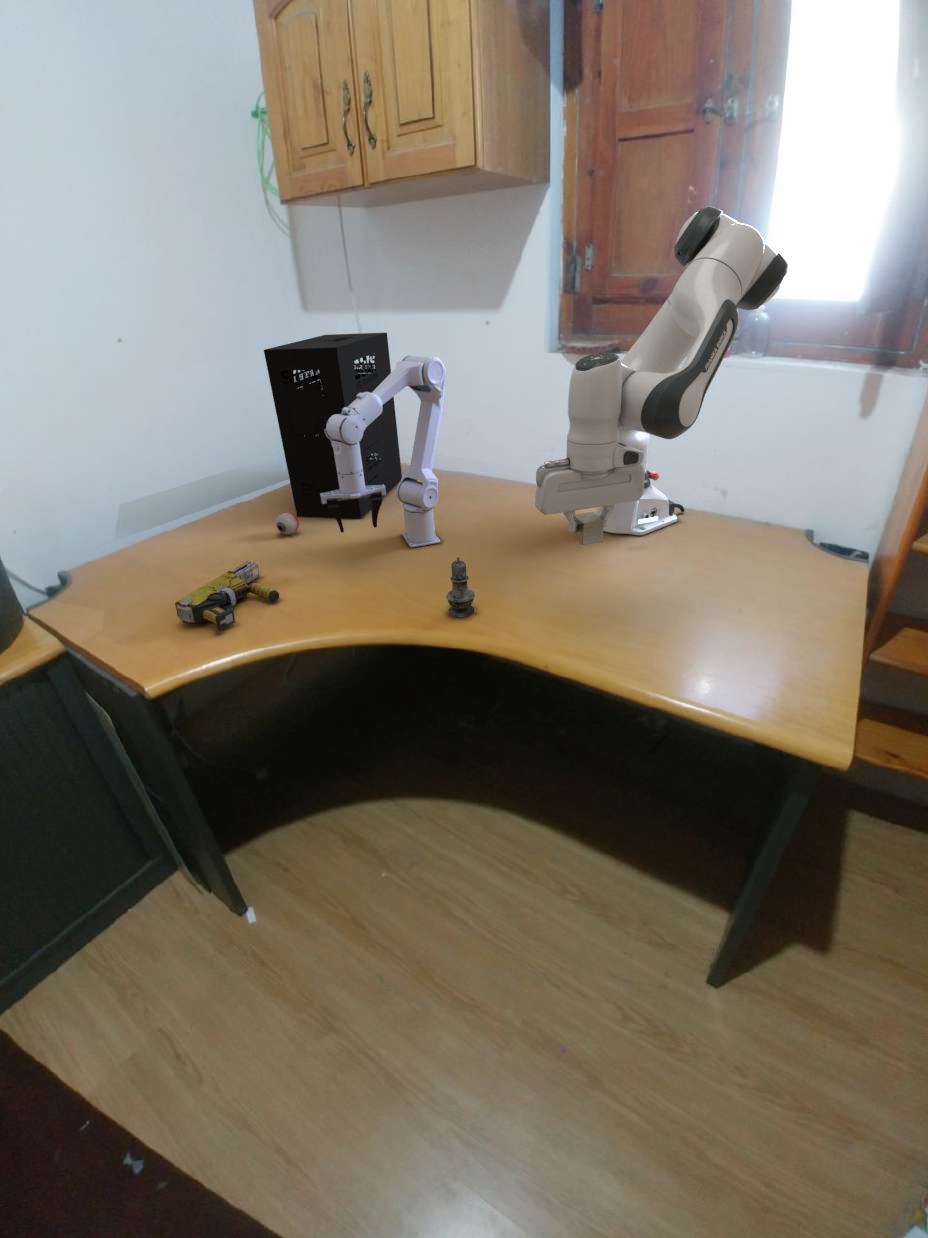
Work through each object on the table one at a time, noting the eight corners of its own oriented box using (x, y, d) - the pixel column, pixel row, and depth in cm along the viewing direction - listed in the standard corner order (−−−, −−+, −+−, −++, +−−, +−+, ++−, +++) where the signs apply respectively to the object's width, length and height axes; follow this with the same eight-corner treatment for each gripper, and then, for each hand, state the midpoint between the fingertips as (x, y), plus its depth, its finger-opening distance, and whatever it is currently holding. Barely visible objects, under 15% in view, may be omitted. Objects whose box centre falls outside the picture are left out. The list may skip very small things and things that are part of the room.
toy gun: (300, 570, 137) (245, 558, 141) (232, 617, 117) (169, 602, 121) (302, 588, 139) (247, 576, 143) (235, 638, 119) (173, 622, 123)
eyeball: (273, 537, 164) (268, 516, 161) (287, 528, 169) (282, 508, 166) (291, 539, 161) (286, 518, 158) (305, 530, 166) (301, 510, 163)
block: (582, 545, 111) (583, 523, 109) (571, 537, 115) (572, 514, 113) (602, 542, 112) (604, 519, 110) (591, 533, 116) (592, 511, 114)
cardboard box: (361, 518, 173) (336, 347, 150) (296, 515, 177) (263, 349, 155) (402, 478, 204) (386, 332, 182) (346, 477, 209) (325, 334, 186)
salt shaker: (472, 618, 120) (470, 563, 114) (444, 617, 121) (439, 562, 115) (478, 604, 125) (475, 551, 119) (450, 603, 126) (446, 550, 120)
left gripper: (318, 480, 129) (328, 539, 136) (385, 471, 132) (392, 529, 139) (316, 471, 135) (326, 528, 142) (380, 463, 138) (386, 519, 145)
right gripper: (543, 467, 101) (542, 543, 108) (652, 452, 105) (644, 526, 112) (529, 458, 106) (529, 531, 113) (634, 444, 111) (627, 515, 117)
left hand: (358, 528), depth 141 cm, fingers open, 7 cm apart
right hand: (587, 529), depth 113 cm, fingers closed on block, 4 cm apart
